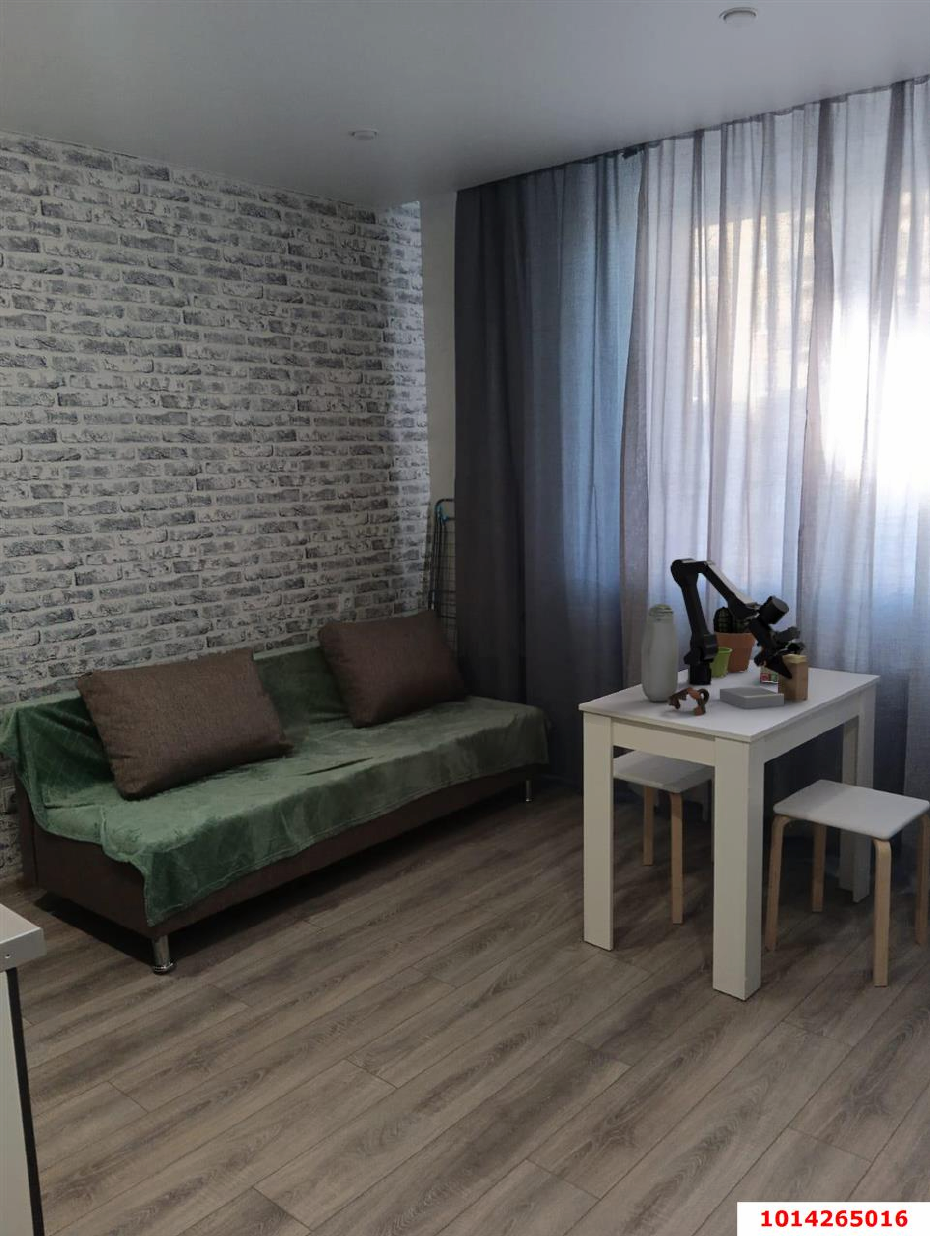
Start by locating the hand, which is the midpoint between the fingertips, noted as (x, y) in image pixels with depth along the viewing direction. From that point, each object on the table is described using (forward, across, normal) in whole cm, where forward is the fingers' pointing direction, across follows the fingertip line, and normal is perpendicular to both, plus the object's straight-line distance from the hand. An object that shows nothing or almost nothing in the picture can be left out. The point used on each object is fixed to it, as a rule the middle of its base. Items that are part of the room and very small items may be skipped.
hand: (797, 676), depth 299 cm
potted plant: (-23, +26, +33) cm, 48 cm away
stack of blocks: (-11, +26, +21) cm, 35 cm away
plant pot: (-22, +14, +32) cm, 41 cm away
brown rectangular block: (+4, 0, +6) cm, 7 cm away
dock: (0, -12, +10) cm, 16 cm away
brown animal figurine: (-3, -34, +13) cm, 36 cm away
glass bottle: (-14, -29, +24) cm, 40 cm away
